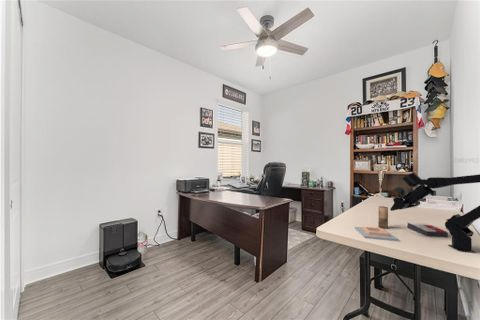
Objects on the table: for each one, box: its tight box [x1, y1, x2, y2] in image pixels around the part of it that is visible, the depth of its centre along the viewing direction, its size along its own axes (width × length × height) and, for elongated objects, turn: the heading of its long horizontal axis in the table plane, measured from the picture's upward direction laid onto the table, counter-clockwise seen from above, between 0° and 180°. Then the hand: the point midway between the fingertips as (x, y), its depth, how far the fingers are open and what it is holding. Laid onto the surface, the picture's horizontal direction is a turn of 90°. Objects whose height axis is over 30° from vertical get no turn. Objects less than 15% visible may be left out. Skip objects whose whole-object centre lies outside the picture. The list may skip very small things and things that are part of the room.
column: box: [377, 205, 389, 230], centre depth 124 cm, size 5×5×13 cm
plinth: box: [354, 225, 400, 242], centre depth 111 cm, size 16×16×2 cm
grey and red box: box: [406, 222, 449, 238], centre depth 117 cm, size 11×4×15 cm
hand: (394, 209), depth 118 cm, fingers open, 9 cm apart
